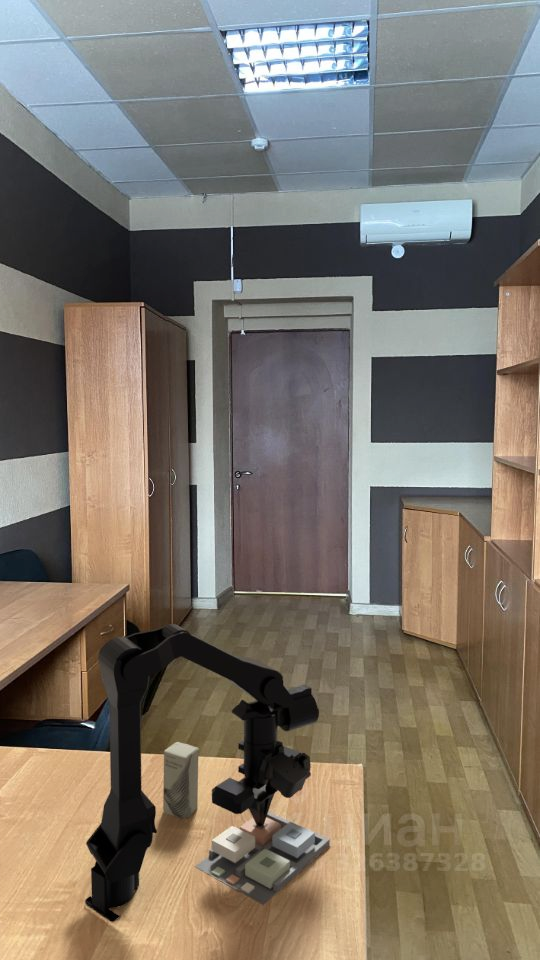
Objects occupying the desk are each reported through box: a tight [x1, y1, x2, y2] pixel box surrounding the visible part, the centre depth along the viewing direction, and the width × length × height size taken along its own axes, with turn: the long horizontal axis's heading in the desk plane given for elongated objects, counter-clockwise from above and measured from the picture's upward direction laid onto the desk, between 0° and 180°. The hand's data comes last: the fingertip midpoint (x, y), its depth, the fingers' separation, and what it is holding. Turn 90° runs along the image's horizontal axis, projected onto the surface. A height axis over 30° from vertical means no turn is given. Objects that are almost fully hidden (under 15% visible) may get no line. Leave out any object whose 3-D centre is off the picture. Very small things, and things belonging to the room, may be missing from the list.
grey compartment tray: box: [194, 811, 331, 906], centre depth 113 cm, size 18×14×2 cm
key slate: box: [272, 821, 316, 858], centre depth 114 cm, size 5×5×2 cm
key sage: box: [245, 849, 290, 889], centre depth 108 cm, size 5×5×2 cm
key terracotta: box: [239, 817, 281, 847], centre depth 118 cm, size 5×5×2 cm
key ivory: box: [211, 825, 255, 863], centre depth 112 cm, size 5×5×2 cm
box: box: [162, 741, 200, 820], centre depth 126 cm, size 5×4×13 cm
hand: (260, 824), depth 118 cm, fingers closed, pressing on key terracotta
